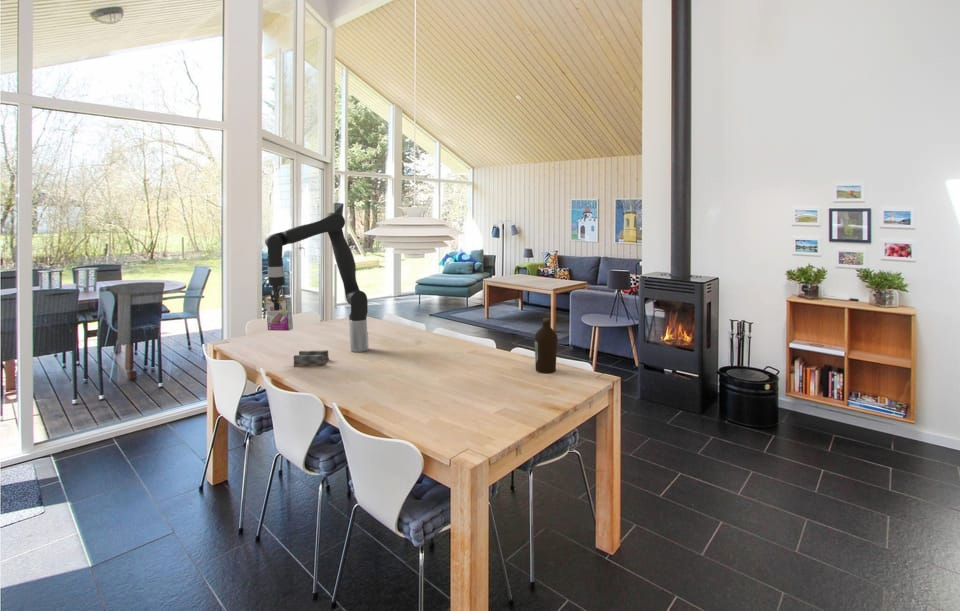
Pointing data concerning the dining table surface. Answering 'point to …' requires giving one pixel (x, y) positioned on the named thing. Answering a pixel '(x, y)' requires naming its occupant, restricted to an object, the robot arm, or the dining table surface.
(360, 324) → the robot arm
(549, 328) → the olive oil
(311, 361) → the rail holder
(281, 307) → the candy bar box
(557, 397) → the dining table surface
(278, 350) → the dining table surface
